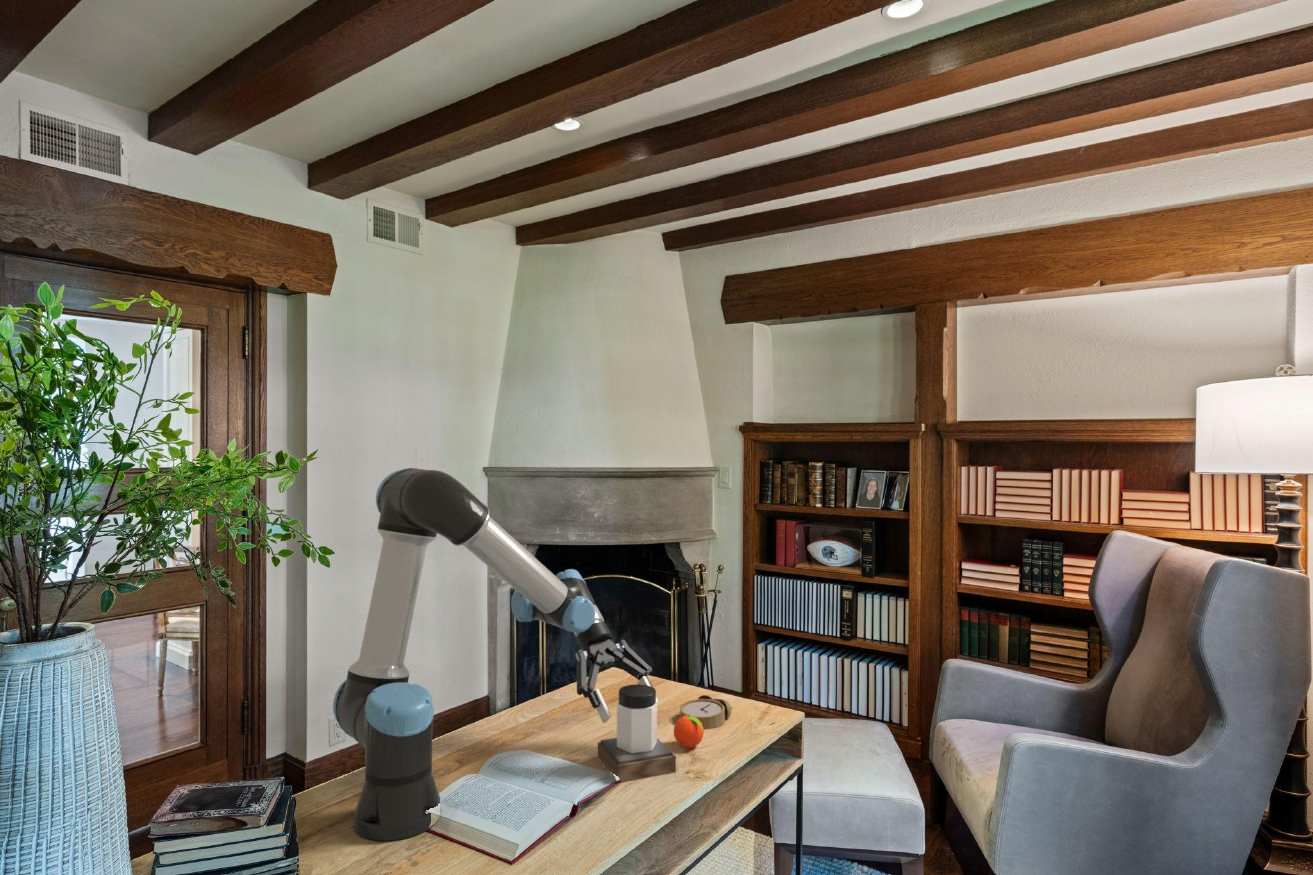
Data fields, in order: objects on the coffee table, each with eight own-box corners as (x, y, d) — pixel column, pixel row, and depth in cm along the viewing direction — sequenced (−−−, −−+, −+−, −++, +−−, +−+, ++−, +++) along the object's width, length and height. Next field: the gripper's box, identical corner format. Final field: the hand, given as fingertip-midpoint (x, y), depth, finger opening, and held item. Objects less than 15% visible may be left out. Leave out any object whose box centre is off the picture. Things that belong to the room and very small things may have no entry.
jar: (651, 736, 165) (652, 682, 165) (661, 750, 158) (662, 694, 158) (612, 740, 163) (613, 685, 163) (621, 755, 155) (621, 698, 155)
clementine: (713, 748, 169) (713, 716, 169) (693, 756, 164) (693, 724, 164) (687, 737, 175) (688, 707, 175) (667, 746, 170) (667, 715, 170)
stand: (618, 782, 151) (618, 763, 151) (597, 757, 163) (597, 739, 163) (675, 772, 156) (675, 753, 156) (651, 748, 168) (651, 730, 168)
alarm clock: (670, 711, 185) (704, 685, 196) (672, 729, 185) (706, 703, 197) (706, 722, 178) (740, 695, 189) (708, 741, 178) (742, 713, 190)
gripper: (623, 629, 183) (664, 707, 172) (539, 648, 166) (578, 735, 155) (638, 612, 179) (680, 690, 168) (553, 629, 162) (594, 717, 151)
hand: (631, 712), depth 162 cm, fingers open, 13 cm apart
